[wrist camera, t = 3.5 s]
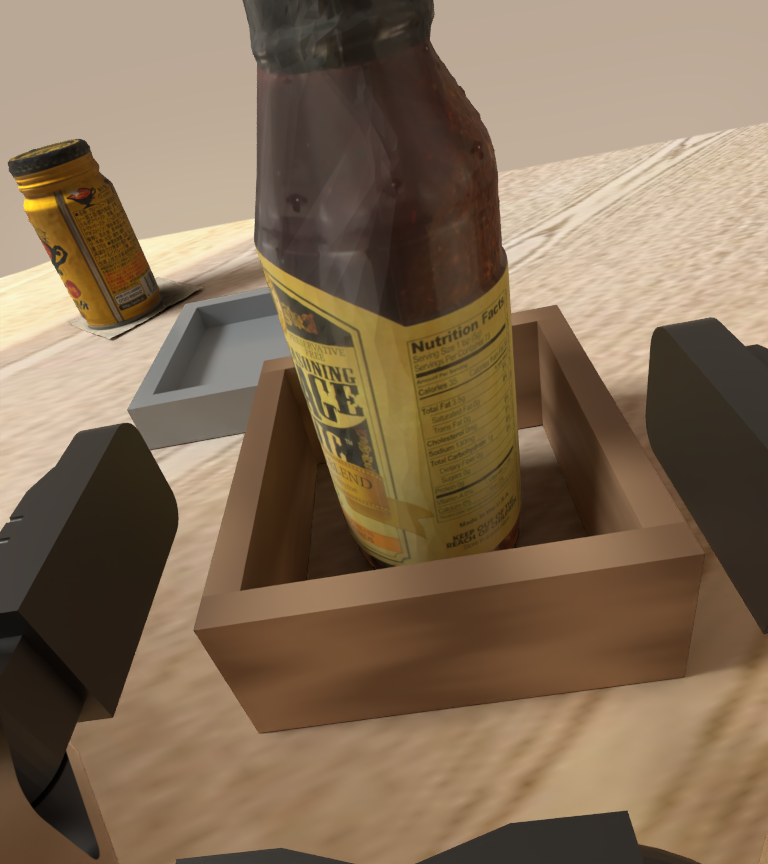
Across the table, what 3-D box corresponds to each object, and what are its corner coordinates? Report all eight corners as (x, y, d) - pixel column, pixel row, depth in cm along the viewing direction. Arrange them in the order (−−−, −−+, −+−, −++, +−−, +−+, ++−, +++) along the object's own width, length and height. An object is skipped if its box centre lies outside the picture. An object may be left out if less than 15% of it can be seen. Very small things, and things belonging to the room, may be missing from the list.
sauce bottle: (344, 504, 25) (127, -158, 13) (489, 459, 25) (404, -222, 14) (378, 636, 20) (67, -274, 8) (561, 577, 20) (524, -372, 8)
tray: (149, 449, 31) (127, 410, 29) (199, 338, 41) (185, 303, 39) (381, 407, 30) (370, 364, 28) (377, 303, 39) (368, 266, 38)
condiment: (67, 324, 48) (-23, 164, 41) (158, 279, 52) (91, 127, 45) (110, 342, 43) (17, 165, 36) (206, 290, 48) (140, 124, 41)
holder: (258, 733, 18) (193, 630, 15) (297, 453, 28) (264, 360, 25) (684, 677, 17) (705, 553, 14) (560, 407, 27) (556, 304, 24)
